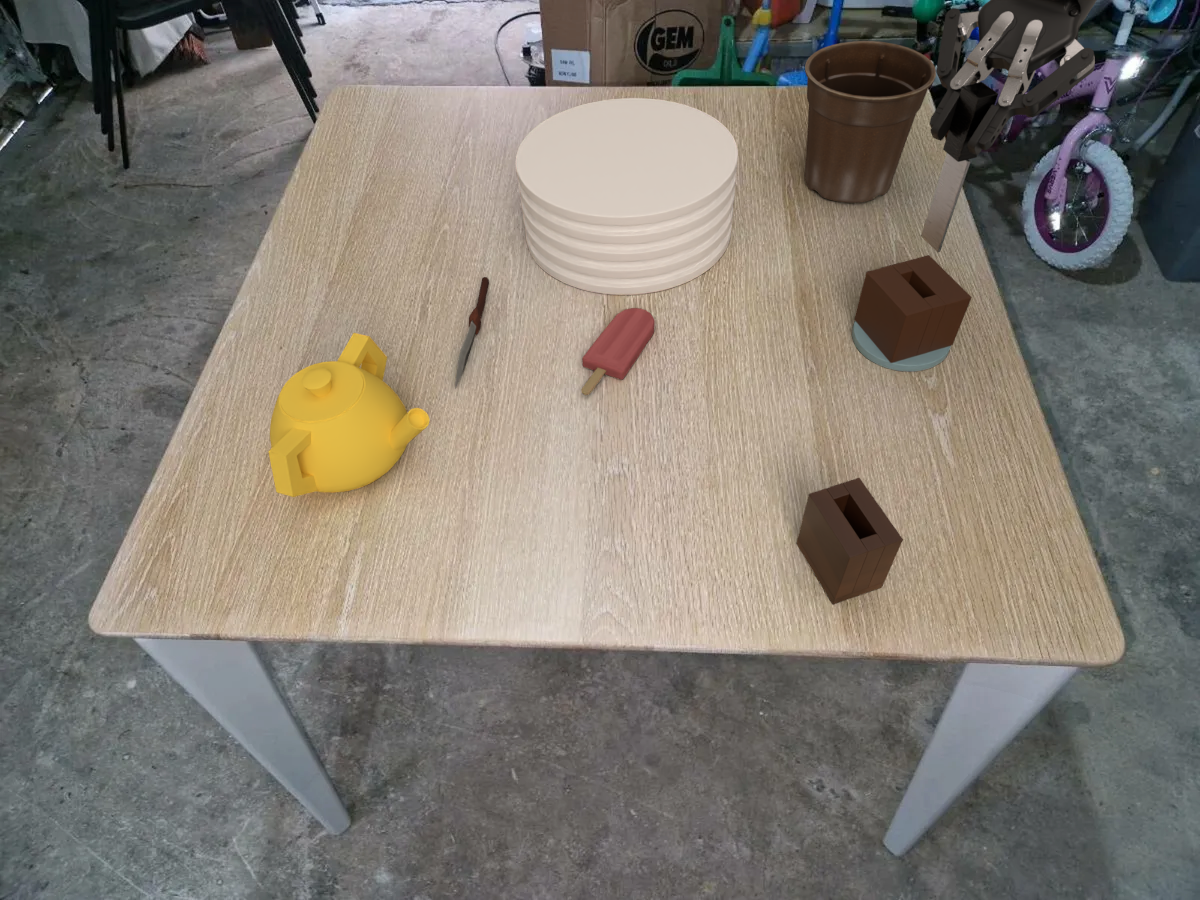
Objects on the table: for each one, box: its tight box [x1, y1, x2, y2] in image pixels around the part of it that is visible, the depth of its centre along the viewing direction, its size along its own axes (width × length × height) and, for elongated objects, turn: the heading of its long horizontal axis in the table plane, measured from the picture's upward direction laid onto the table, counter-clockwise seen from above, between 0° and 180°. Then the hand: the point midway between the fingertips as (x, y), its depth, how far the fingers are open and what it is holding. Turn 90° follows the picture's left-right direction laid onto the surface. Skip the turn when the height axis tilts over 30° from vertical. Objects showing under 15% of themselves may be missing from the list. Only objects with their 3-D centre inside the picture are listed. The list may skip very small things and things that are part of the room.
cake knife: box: [920, 81, 999, 253], centre depth 75 cm, size 2×3×16 cm, turn 19°
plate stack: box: [515, 97, 739, 296], centre depth 105 cm, size 28×28×12 cm
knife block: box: [795, 477, 904, 605], centre depth 71 cm, size 5×7×8 cm
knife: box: [454, 276, 490, 389], centre depth 95 cm, size 18×2×3 cm, turn 173°
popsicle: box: [580, 307, 656, 396], centre depth 93 cm, size 5×2×15 cm
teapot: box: [267, 332, 431, 498], centre depth 81 cm, size 20×18×11 cm
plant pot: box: [804, 40, 937, 204], centre depth 108 cm, size 16×16×16 cm
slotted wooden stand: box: [851, 254, 972, 373], centre depth 90 cm, size 11×11×8 cm
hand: (954, 142), depth 71 cm, fingers closed on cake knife, 3 cm apart
